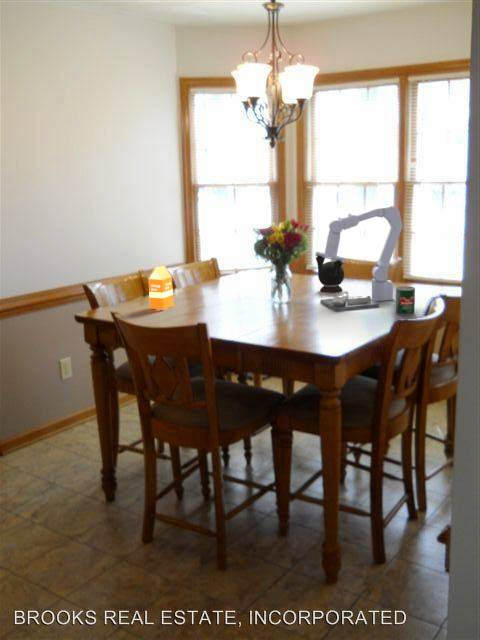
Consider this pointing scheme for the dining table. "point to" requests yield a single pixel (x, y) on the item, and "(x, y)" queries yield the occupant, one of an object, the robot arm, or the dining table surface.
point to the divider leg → (346, 295)
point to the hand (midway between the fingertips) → (326, 274)
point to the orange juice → (160, 288)
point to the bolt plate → (348, 307)
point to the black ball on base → (330, 278)
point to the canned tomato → (405, 300)
